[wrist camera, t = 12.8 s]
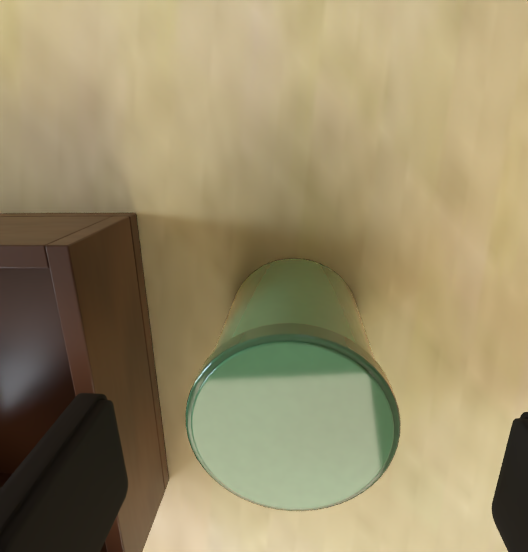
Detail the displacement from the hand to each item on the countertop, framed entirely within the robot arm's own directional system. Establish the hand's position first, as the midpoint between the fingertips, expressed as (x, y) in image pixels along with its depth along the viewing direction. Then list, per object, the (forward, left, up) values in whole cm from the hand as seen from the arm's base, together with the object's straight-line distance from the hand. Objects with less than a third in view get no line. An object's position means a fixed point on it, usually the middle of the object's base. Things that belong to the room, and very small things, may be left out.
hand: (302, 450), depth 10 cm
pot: (+1, 0, -10) cm, 10 cm away
